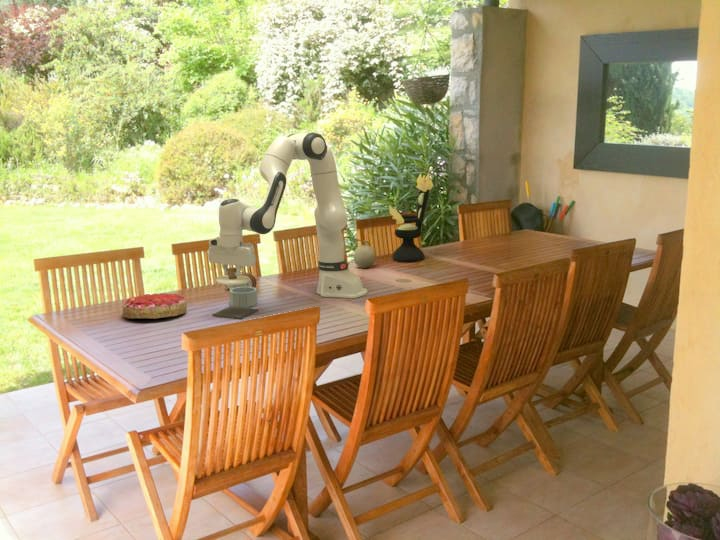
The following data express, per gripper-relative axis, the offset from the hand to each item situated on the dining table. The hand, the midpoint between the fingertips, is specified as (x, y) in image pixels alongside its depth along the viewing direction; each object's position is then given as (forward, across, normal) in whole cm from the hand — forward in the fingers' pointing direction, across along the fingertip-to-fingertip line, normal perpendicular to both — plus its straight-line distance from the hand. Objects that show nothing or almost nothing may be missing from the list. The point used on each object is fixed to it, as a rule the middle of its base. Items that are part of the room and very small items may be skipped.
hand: (232, 275), depth 306 cm
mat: (+15, 0, 0) cm, 16 cm away
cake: (+16, +29, +12) cm, 36 cm away
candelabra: (+14, -29, -123) cm, 128 cm away
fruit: (+15, -14, -96) cm, 98 cm away
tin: (+16, +19, -33) cm, 41 cm away
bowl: (+15, +5, -14) cm, 22 cm away
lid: (+2, 0, 0) cm, 2 cm away
